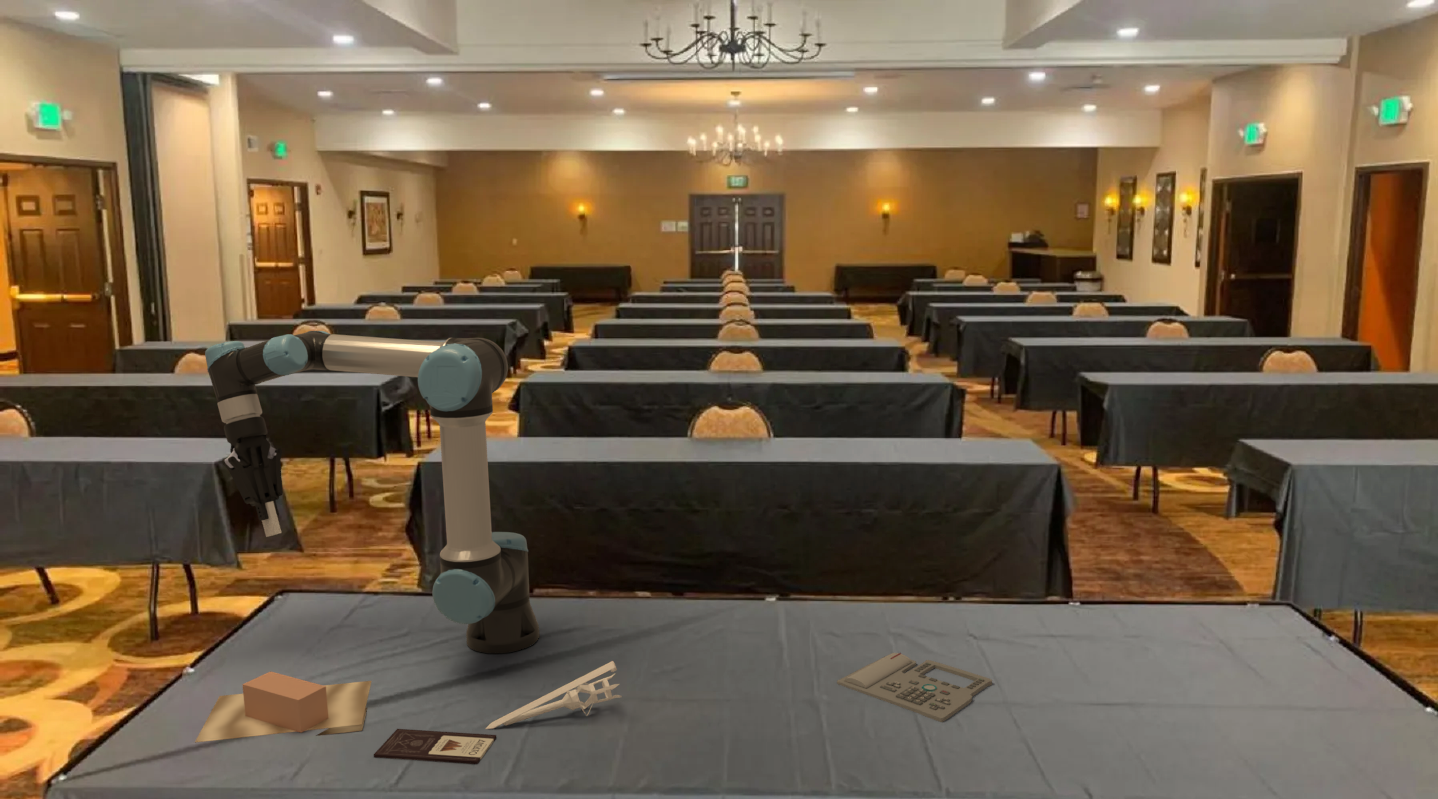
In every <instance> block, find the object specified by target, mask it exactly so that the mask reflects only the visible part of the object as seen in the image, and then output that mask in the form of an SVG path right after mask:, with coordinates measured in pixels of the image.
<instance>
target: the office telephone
mask: <svg viewBox="0 0 1438 799" xmlns="http://www.w3.org/2000/svg"><path fill="white" fill-rule="evenodd" d="M934 669H936V670H940V671H942V672H946V673H949V674H952V675H955V676H958V677H962V678H965V679H968V680H971V681H973V682H971V683H970V684H968V685H967V686H965V687H963V686H958V685H956V684H952V683H950V682H947V681H943V680H939V679H937V678H934V677H930V676H927V675H925V674H927V673H928V672H930V671H931V670H934ZM836 684H837V685H839V686H842V687H845V688H847V689H850V690H853V691H855V692H858V693H861V694H864V695H866V696H869V697H872V698H875V699H878V700H881V701H883V702H886V703H888V704H892V705H893V706H894V705H895V706H897V707H900V708H903V709H906V710H907V711H911V712H914V713H916V714H918V715H921V716H923V717H925V718H928V719H932V720H934V721H936V722H940V723H943V722H945V721H947V720H948V719H949V718H951V717H953V716H954V715H956V714H957V713H958V712H959V711H961V710H962V709H964V708H965V707H967V706H968V705H969V704H970V703H971V702H972V701H973V697H974V696H976V695H977V694H978V693H979V692H982V691H983V690H984V689H987V688H988V687H989V686H992V685H993V680H992V679H991V678H990V677H989V678H988V677H986V676H983V675H979V674H976V673H973V672H970V671H967V670H963V669H960V668H957V667H955V666H952V665H948V664H944V663H941V662H937V661H934V660H930V659H926V660H925V661H923V662H921V663H920V664H918V665H917V661H916V660H913V659H911V658H910V657H908V656H907V655H905V654H902V653H901V652H899V653H898V652H891V653H890V654H887V655H886V656H883V657H881V658H879V659H877V660H875V661H874V662H871V663H869V664H867V665H865V666H863V667H861V668H859V669H857V670H855V671H854V672H852V673H850V674H848V675H846V676H843V677H842V678H839V679H838V680H836Z"/></svg>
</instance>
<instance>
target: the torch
mask: <svg viewBox="0 0 1438 799" xmlns="http://www.w3.org/2000/svg"><path fill="white" fill-rule="evenodd" d="M617 670H618V669H617V665H616V663H615V662H614V660H611V661H610V662H608V663H606V664H604V665H602V666H599V667H598V668H596V669H594V670H591V671H590V672H588V673H586V674H584V675H581V676H580V677H578V678H575V680H572V681H571V682H569V683H566V684H565V685H562V686H561V687H558V688H557V689H554V690H553V691H551V692H549V693H546V694H545V695H543V696H541V697H539V698H537V699H535V700H533V701H531V702H529V703H526V704H525V705H523V706H521V707H519V708H517V709H515V710H513V711H512V712H510V713H507V714H505V715H504V716H501V717H500V718H498V719H496V720H493V721H492V722H490V723H489V725H487V727H485V730H489V729H491V730H492V729H495V728H498V727H499V726H501V725H504V726H506V727H507V726H510V725H512V724H516V723H518V722H521V721H525V720H527V719H531V718H533V717H537V716H540V715H543V714H545V713H549V712H553V711H555V710H557V709H561V708H566V709H569V710H571V711H575V710H576V709H579V708H580V709H581V710H582V712H583V713H584V714H585V716H586V717H587V716H588V715H589V713H590V711H591V709H592V707H593V705H594V704H598V703H602V702H607V701H611V700H613V699H616V698H619V699H620V698H621V695H619V694H615V695H612V690H614V689H615V688H617V687H618V686H619V685H620V683H614V684H611V685H610V683H609V681H608V680H611V679H612V678H613V677H614V676H615V675H616V673H614V672H616V671H617ZM609 671H610V672H611V673H613V674H612V675H610V676H607V677H604V678H601V679H599V680H595V681H594V682H591V683H589V682H590V681H591V680H594V679H596V678H597V677H599V676H602V675H603V674H605V673H607V672H609ZM596 684H597V685H598V684H601V686H602V687H601V688H599V689H596V688H595V685H596ZM565 693H566V694H565ZM579 693H584V694H589V697H588V698H587V700H586V701H585V702H584V701H581V700H580V698H579ZM603 693H604V695H605V698H602V699H601V698H600V699H598V695H600V694H603ZM563 694H564V696H563V698H562V699H560V700H556V701H554V702H550V703H548V704H546V703H547V702H549V701H551V700H554V699H556V698H557V697H559V696H562V695H563ZM589 706H590V708H589V710H588V712H587V713H586V712H585V710H586V709H587V708H588V707H589Z"/></svg>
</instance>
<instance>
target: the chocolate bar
mask: <svg viewBox="0 0 1438 799" xmlns="http://www.w3.org/2000/svg"><path fill="white" fill-rule="evenodd" d="M495 740H497V734H484V733H472V732H471V733H470V732H468V733H467V732H455V731H454V732H453V731H440V730H439V731H438V730H437V731H436V730H423V729H407V728H396V729H395V730H394V732H393V733H392V734H391V735H390V736H389V737H388V738H387V739H386V740H385V741H384V743H383V744H382V745H381V746H380V747H379V748H378V749H377V750H376V751H375V752H374V753H373V758H375V759H376V758H379V759H390V760H391V759H393V760H405V761H407V760H408V761H423V762H436V763H437V762H438V763H451V764H452V763H453V764H468V765H478V764H479V763H480V761H481V760H482V758H483V757H484V756H485V754H486V753H487V751H488V750H489V749H490V748H491V746H492V745H493V743H494V742H495Z"/></svg>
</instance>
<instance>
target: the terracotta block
mask: <svg viewBox="0 0 1438 799" xmlns="http://www.w3.org/2000/svg"><path fill="white" fill-rule="evenodd" d="M241 685H242V694H243V695H244V706H245V716H247V717H251V718H254V719H257V720H260V721H264V722H267V723H270V724H274V725H277V726H280V727H284V728H287V729H290V730H294V731H297V732H298V733H304V732H306V731H305V730H307V729H309V728H311V727H313V726H315V725H317V724H318V723H320V722H322V721H324V720H326V719H328V706H327V694H326V686H324V685H322V684H319V683H315V682H312V681H307V680H304V679H300V678H296V677H293V676H290V675H285V674H282V673H278V672H274V671H268V672H266V673H264V674H262V675H259V676H258V677H255V678H253V679H251V680H248V681H247V682H245V683H242V684H241ZM307 731H308V730H307Z"/></svg>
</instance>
